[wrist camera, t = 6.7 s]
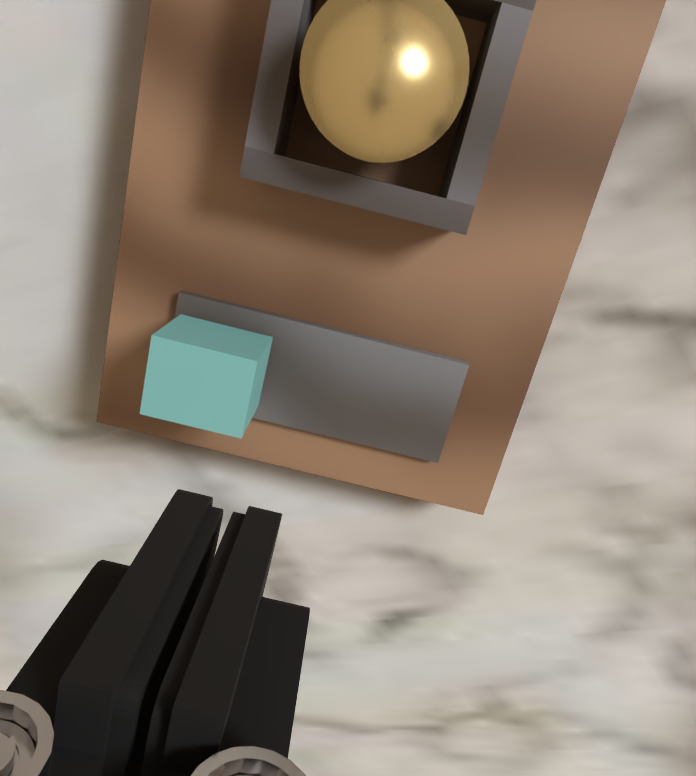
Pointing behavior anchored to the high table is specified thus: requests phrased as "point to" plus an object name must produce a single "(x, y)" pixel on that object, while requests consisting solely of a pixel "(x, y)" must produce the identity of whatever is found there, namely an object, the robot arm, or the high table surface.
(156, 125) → the panel
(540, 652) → the high table surface
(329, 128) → the brass button
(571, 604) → the high table surface
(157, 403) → the teal slider
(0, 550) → the high table surface
